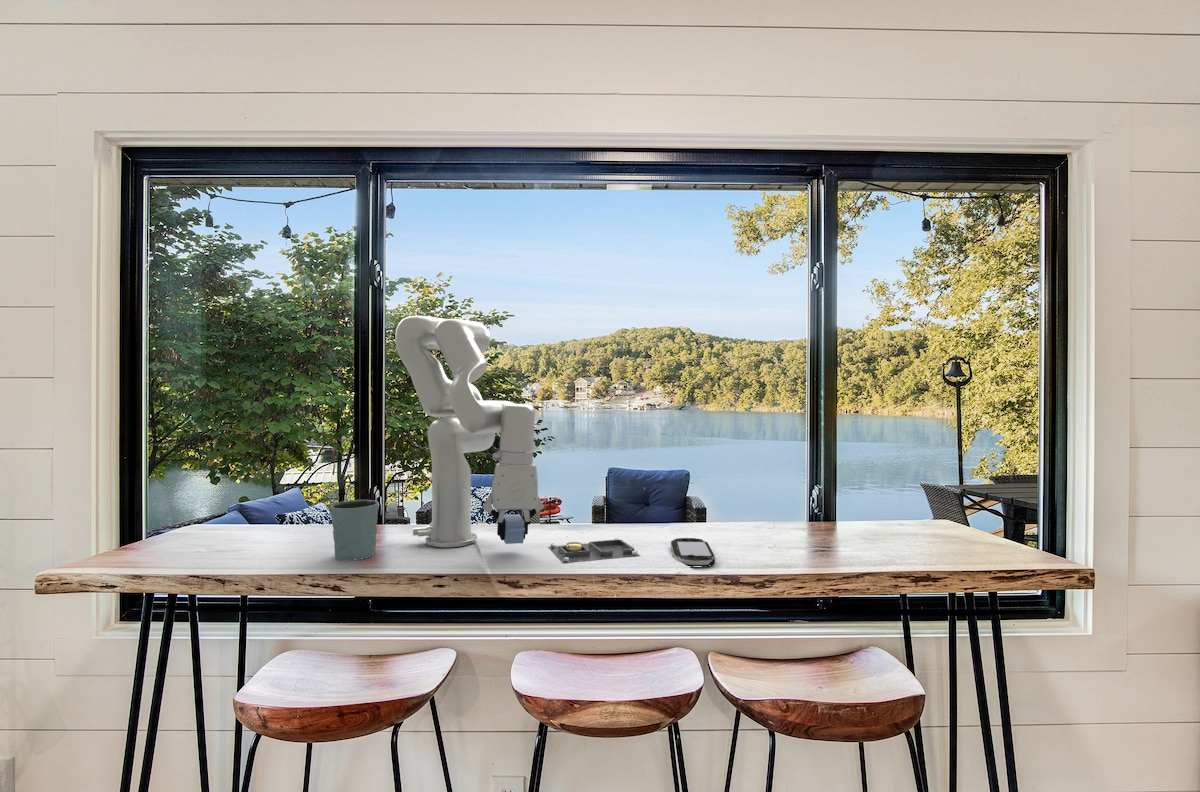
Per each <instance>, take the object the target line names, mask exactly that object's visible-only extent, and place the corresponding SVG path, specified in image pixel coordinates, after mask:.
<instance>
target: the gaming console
mask: <svg viewBox="0 0 1200 792" xmlns="http://www.w3.org/2000/svg"><path fill="white" fill-rule="evenodd" d="M670 547H671V552H672V556H673V558H674V559H675V560H676V561H678V562H680V563H682V564H683V565H685V566H686V567H688V566H708V567H710V566H709V565H711V566H713V565H714V564H715V563H716V556H715V554H714V552H713V550H712V548H711V545H710V544H709V542H708V541H705V540H703V539H702V538H696V537H695V538H694V537H692V538H691V537H680V538H674V539H672V540H670Z"/></svg>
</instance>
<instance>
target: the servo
mask: <svg viewBox="0 0 1200 792" xmlns="http://www.w3.org/2000/svg"><path fill="white" fill-rule="evenodd" d="M522 517H523V516H522V515H521V514H517V513H516V514H515V513H514V514H505V516H504V522H505V539H504V540H503V542H504V544H505V545H508V544H509V545H511V544H513V545H514V544H524V540H525V539H524V531H525V528H524V520H523V518H522Z"/></svg>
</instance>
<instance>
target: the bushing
mask: <svg viewBox="0 0 1200 792" xmlns="http://www.w3.org/2000/svg"><path fill="white" fill-rule="evenodd" d="M582 544H583V543H581V542H579V541H568V542H566V544H565V545H566V551H567V552H572V551H582Z"/></svg>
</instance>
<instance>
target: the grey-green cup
mask: <svg viewBox="0 0 1200 792" xmlns="http://www.w3.org/2000/svg"><path fill="white" fill-rule="evenodd" d="M379 504H380V503H379V501H377V500H373V499H351V500H343V501H340V502H339V501H338V502H336V503H333V504H331V505H330V506H329V507H330V508H329V509H330V513H331V514H330V516H331V525H332V529H333V530H332V535H333V536H332V537H333V541H334V544H333V545H334V547H333V548H334V558H335V559H336V558H337V559H340V560H339V561H342V560H354V559H361V558H366V557H369V556H372V555H374V556H375V554H376V547H377V546H376V543H377V524H378V514H379ZM372 557H373V556H372ZM369 558H370V557H369ZM337 559H336V560H337ZM366 559H367V558H366ZM361 560H362V559H361ZM354 561H355V560H354Z"/></svg>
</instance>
